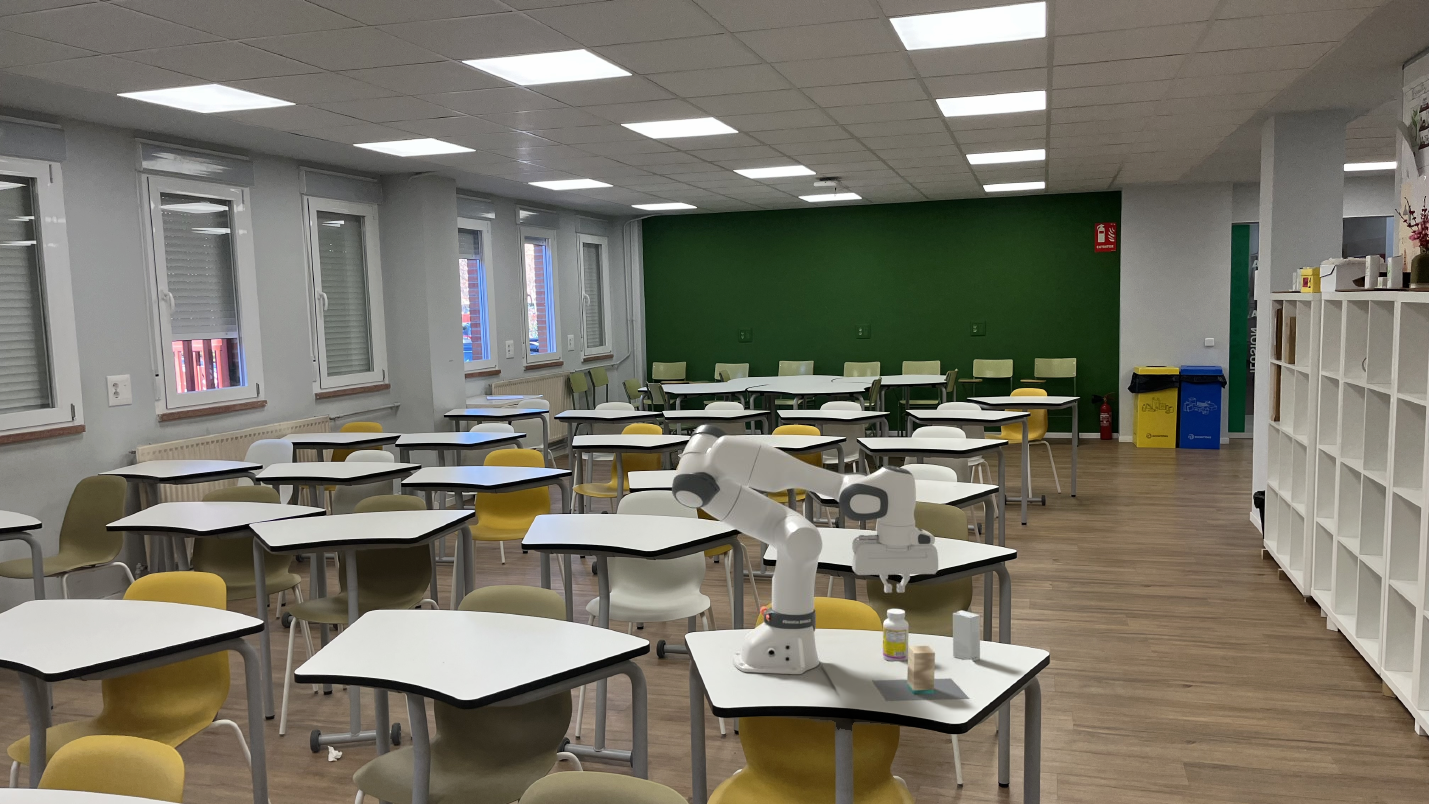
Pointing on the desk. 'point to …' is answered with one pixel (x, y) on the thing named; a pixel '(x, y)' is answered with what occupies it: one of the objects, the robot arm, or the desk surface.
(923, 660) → the birch block
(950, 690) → the rubber mat
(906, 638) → the supplement bottle
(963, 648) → the skincare box
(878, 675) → the desk surface
